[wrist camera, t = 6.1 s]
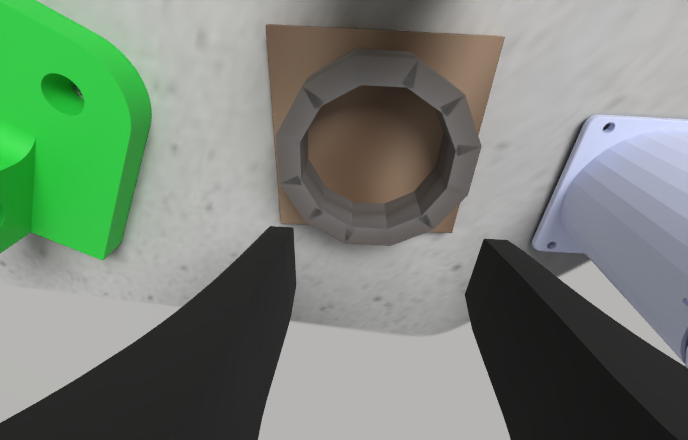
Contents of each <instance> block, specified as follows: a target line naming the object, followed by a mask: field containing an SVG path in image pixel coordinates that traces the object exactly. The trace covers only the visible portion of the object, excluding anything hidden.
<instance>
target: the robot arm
mask: <svg viewBox="0 0 688 440" xmlns="http://www.w3.org/2000/svg"><path fill="white" fill-rule="evenodd" d="M607 123H610V125H609V127H608V128H607V129H605V130H603V127H604V126H605V125H606V124H607ZM550 242H552V243H551V244H550V245H548V244H549V243H550ZM532 246H533V247H534V248H535V249H536V250H538V251H548V252H565V253H581V254H586V255H587V256H588V257H589V258H590V259H591V261H592V262H593V263H594V264H595V265H596V266H597V267H598V268H599V269H600V271H601V272H602V273H603V274H604V275H605V276H606V277H607V278H608V279H609V280H610V282H611V283H612V284H613V285H614V286H615V287H616V288H617V289H618V290H619V292H620V293H621V294H622V295H623V296H624V297H625V298H626V299H627V300H628V301H629V302H630V304H631V305H632V306H633V307H634V308H635V309H636V310H637V311H638V313H639V314H640V315H641V316H642V317H643V318H644V319H645V320H646V321H647V322H648V324H649V325H650V326H651V327H652V328H653V329H654V330H655V331H656V332H657V333H658V334H659V336H660V337H661V338H662V339H663V340H664V341H665V342H666V344H667V345H668V346H669V347H670V348H671V349H672V350H673V351H674V352H675V353H676V355H678V357H679V358H680V359H681V360H682V361H683V362H684V363H685V366H683V365H682V364H680V363H679V362H677V361H675V360H674V359H672V358H671V357H669V356H667V355H666V354H664V353H663V352H661V351H659V350H658V349H656V348H655V347H653V346H652V345H650V344H649V343H647V342H646V341H644V340H643V339H641V338H640V337H638V336H637V335H635V334H634V333H632V332H631V331H629V330H628V329H626V328H625V327H624V326H622V325H621V324H619V323H618V322H617V321H615V320H613V319H612V318H611V317H609V316H608V315H606V314H605V313H604V312H602V311H601V310H600V309H598V308H597V307H595V306H594V305H593V304H591V303H590V302H589V301H587V300H586V299H585V298H583V297H582V296H581V295H579V294H578V293H577V292H575V291H574V290H573V289H571V288H570V287H569V286H568V285H566V284H565V283H563V282H562V281H561V280H560V279H558V278H557V277H556V276H555V275H553V274H552V273H551V272H549V271H548V270H547V269H546V268H544V267H543V266H542V265H540V264H539V263H538V262H537V261H535V260H534V259H533V258H531V257H530V256H529V255H527V254H526V253H525V252H523V251H522V250H521V249H519V248H518V247H517V246H515V245H514V244H512V243H511V242H509V241H508V240H495V239H484V240H483V243H482V246H481V249H480V252H479V255H478V258H477V261H476V264H475V267H474V270H473V273H472V275H471V278H470V281H469V284H468V287H467V290H466V293H465V298H466V303H467V308H468V313H469V317H470V321H471V326H472V330H473V333H474V336H475V339H476V341H477V344H478V347H479V350H480V353H481V355H482V358H483V361H484V364H485V366H486V369H487V372H488V375H489V378H490V380H491V383H492V386H493V389H494V391H495V394H496V397H497V400H498V402H499V405H500V408H501V411H502V413H503V416H504V419H505V422H506V426H507V429H508V432H509V435H510V438H511V440H688V119H672V118H654V117H635V116H617V115H594V116H591V117H590V118H588V119H587V120H586V121H585V123H584V125H583V127H582V129H581V131H580V134H579V136H578V138H577V140H576V143H575V145H574V147H573V149H572V152H571V154H570V156H569V159H568V161H567V163H566V165H565V168H564V170H563V172H562V174H561V177H560V179H559V181H558V183H557V186H556V188H555V190H554V193H553V195H552V197H551V199H550V202H549V204H548V206H547V208H546V211H545V213H544V215H543V217H542V220H541V222H540V224H539V227H538V229H537V231H536V233H535V236H534V238H533V240H532ZM295 289H296V270H295V251H294V232H293V228H291V227H274V226H270V227H269V228H268V229H267V230H266V231H265V232H264V233H263V234H262V235H261V236H260V237H259V238H258V239H257V240H256V241H255V242H254V243H253V244H252V245H251V246H250V247H249V248H248V249H247V250H246V251H245V252H244V253H243V254H242V255H241V256H240V257H238V258H237V259H236V260H235V261H234V262H233V263H232V264H231V265H230V266H229V267H228V268H227V269H226V270H225V271H224V272H222V273H221V274H220V275H219V276H218V277H217V278H216V279H215V280H214V281H213V282H211V283H210V284H209V285H208V286H207V287H205V288H204V289H203V290H202V291H201V292H200V293H198V294H197V295H196V296H195V297H194V298H192V299H191V300H190V301H189V302H188V303H187V304H185V305H184V306H183V307H182V308H180V309H179V310H178V311H177V312H175V313H174V314H173V315H171V316H170V317H169V318H167V319H166V320H165V321H163V322H162V323H161V324H159V325H158V326H157V327H155V328H154V329H152V330H151V331H150V332H148V333H147V334H145V335H144V336H143V337H141V338H140V339H138V340H137V341H136V342H134V343H133V344H131V345H129V346H128V347H126V348H125V349H123V350H122V351H120V352H119V353H117V354H115V355H114V356H112V357H111V358H109V359H108V360H106V361H104V362H103V363H101V364H100V365H98V366H97V367H95V368H93V369H92V370H91V371H89V372H87V373H86V374H84V375H82V376H81V377H79V378H78V379H76V380H74V381H73V382H71V383H69V384H68V385H66V386H64V387H63V388H61V389H59V390H58V391H56V392H54V393H52V394H51V395H49V396H47V397H46V398H44V399H42V400H40V401H39V402H37V403H35V404H33V405H32V406H30V407H28V408H26V409H25V410H23V411H21V412H19V413H17V414H16V415H14V416H12V417H10V418H8V419H7V420H5V421H3V422H1V423H0V440H258V436H259V430H260V425H261V421H262V416H263V412H264V408H265V404H266V400H267V397H268V393H269V390H270V387H271V383H272V380H273V377H274V373H275V370H276V366H277V363H278V360H279V356H280V353H281V349H282V346H283V342H284V339H285V336H286V332H287V328H288V325H289V322H290V318H291V312H292V307H293V301H294V295H295Z"/></svg>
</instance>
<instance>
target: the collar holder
mask: <svg viewBox="0 0 688 440" xmlns="http://www.w3.org/2000/svg"><path fill="white" fill-rule="evenodd" d="M266 35H267V48H268V62H269V75H270V88H271V101H272V114H273V127H274V140H275V154H276V167H277V180H278V193H279V206H280V219H281V223H291V224H307V225H312V226H314V227H316V228H318V229H320V230H322V231H324V232H325V233H327V234H329V235H331V236H333V237H335V238H337V239H338V240H340V241H342V242H344V243H353V244H370V245H386V246H391V245H394V244H396V243H399V242H402V241H404V240H407V239H410V238H412V237H415V236H418V235H420V234H423V233H426V232H443V233H452V231H453V227H454V223H455V220H456V216H457V212H458V208H459V205H460V202H461V201H462V200H463V199H464V198H465V197H466V196H467V195H468V192H469V189H470V185H471V182H472V178H473V175H474V171H475V167H476V164H477V160H478V157H479V153H480V150H481V143H480V140H479V137H478V135H479V131H480V127H481V123H482V120H483V116H484V112H485V109H486V105H487V101H488V98H489V94H490V90H491V87H492V83H493V79H494V75H495V72H496V68H497V64H498V61H499V57H500V53H501V50H502V46H503V42H504V38H505V37H502V36H489V35H470V34H450V33H430V32H410V31H391V30H371V29H351V28H332V27H312V26H292V25H273V24H268V25H266Z"/></svg>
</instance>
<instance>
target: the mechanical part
mask: <svg viewBox="0 0 688 440" xmlns="http://www.w3.org/2000/svg"><path fill="white" fill-rule="evenodd" d="M71 81H72V82H73V83H74V84H75V85H76V86H77V87H78V88H79V90H80V91H81V93H82V95H83V98H84V100H83V99H81V98H80V97H79V96H78V94H77V93H76V92H75V90H74V88H73V86H72V83H71ZM151 115H152V113H151V103H150V99H149V95H148V92H147V89H146V87H145V85H144V82H143V80H142V79H141V77H140V75H139V73H138V72H137V70H136V69H135V67H134V66H133V65H132V64H131V62H130V61H129V60H128V59H127V58H126V57H125V55H124V54H123V53H122V52H120V51H119V50H118V49H117V48H116V47H115V46H114V45H113V44H111V43H110V42H108V41H107V40H106V39H104V38H103V37H101V36H99V35H98V34H96V33H94V32H92V31H90V30H89V29H87V28H85V27H83V26H81V25H79V24H78V23H76V22H74V21H72V20H70V19H69V18H67V17H65V16H63V15H61V14H60V13H58V12H56V11H54V10H52V9H50V8H49V7H47V6H45V5H43V4H41V3H40V2H38V1H36V0H0V253H1V252H3V251H4V250H6V249H7V248H9V247H10V246H12V245H13V244H14V243H16V242H17V241H19V240H20V239H22V238H23V237H25V236H26V235H28V234H29V233H31V232H32V233H34V234H37V235H39V236H42V237H45V238H47V239H50V240H52V241H55V242H57V243H60V244H62V245H65V246H67V247H70V248H72V249H75V250H77V251H80V252H83V253H85V254H88V255H90V256H93V257H95V258H98V259H100V260H104V259H105V258H106V257H107V256H108V255H109V254H110V253H111V252H112V251H113V250H114V249H115V248H116V247H117V246H118V245H119V244H120V243H121V241H122V237H123V233H124V229H125V225H126V221H127V217H128V213H129V209H130V205H131V201H132V197H133V193H134V189H135V185H136V181H137V176H138V172H139V168H140V164H141V160H142V156H143V152H144V148H145V144H146V140H147V136H148V132H149V128H150V124H151Z"/></svg>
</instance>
